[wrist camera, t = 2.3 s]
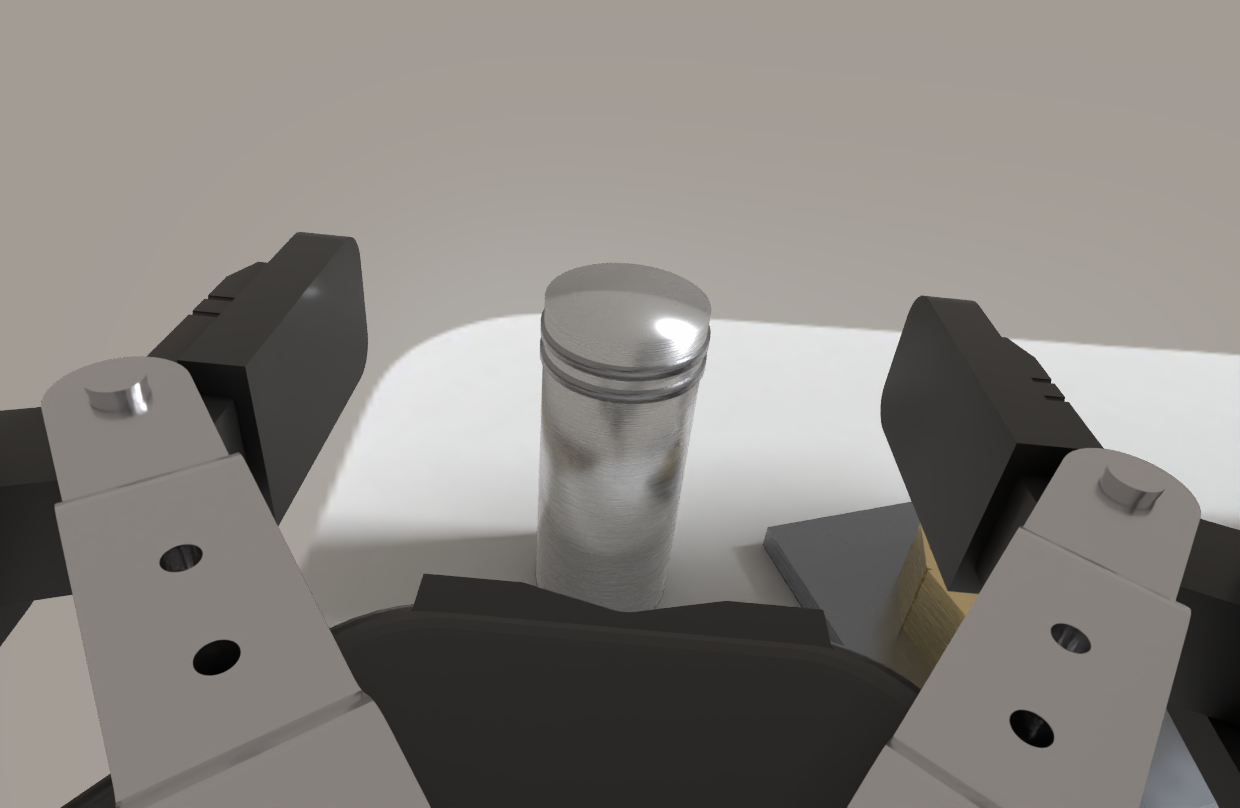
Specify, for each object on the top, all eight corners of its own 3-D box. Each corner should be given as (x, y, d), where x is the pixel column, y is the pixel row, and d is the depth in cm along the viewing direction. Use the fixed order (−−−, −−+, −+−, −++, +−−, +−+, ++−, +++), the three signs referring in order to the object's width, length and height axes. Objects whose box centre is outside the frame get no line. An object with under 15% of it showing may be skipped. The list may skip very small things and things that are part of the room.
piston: (642, 519, 34) (677, 257, 27) (687, 614, 30) (742, 335, 23) (520, 539, 32) (524, 266, 25) (551, 642, 28) (567, 352, 22)
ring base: (1033, 494, 37) (1068, 426, 35) (1328, 772, 27) (1405, 699, 24) (763, 545, 33) (782, 470, 31) (984, 896, 23) (1039, 823, 20)
